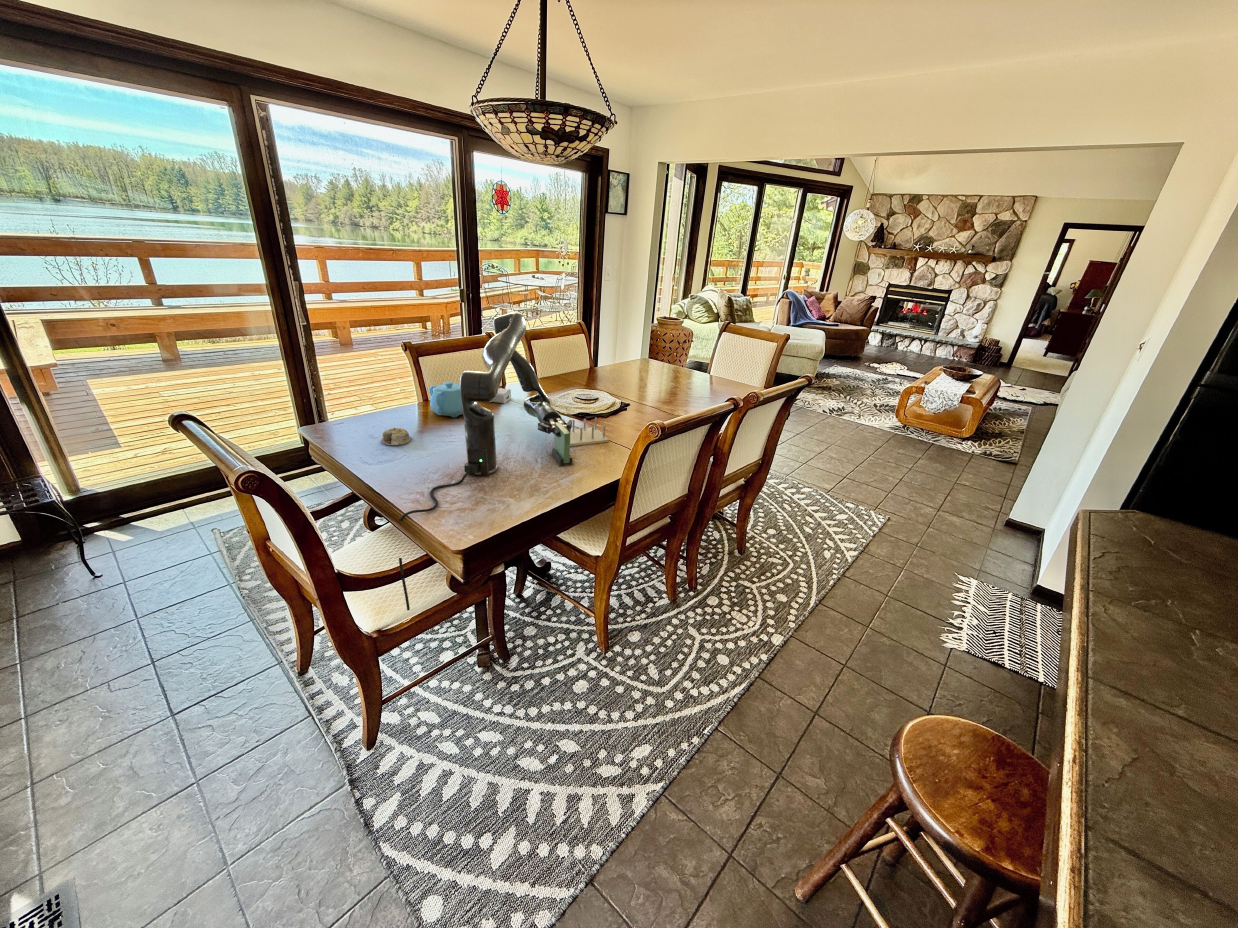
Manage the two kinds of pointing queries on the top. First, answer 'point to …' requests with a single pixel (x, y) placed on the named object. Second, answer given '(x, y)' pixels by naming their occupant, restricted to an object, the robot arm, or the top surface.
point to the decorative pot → (446, 399)
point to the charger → (502, 395)
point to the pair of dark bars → (558, 458)
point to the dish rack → (587, 435)
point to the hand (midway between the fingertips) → (563, 434)
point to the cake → (395, 436)
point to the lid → (563, 443)
